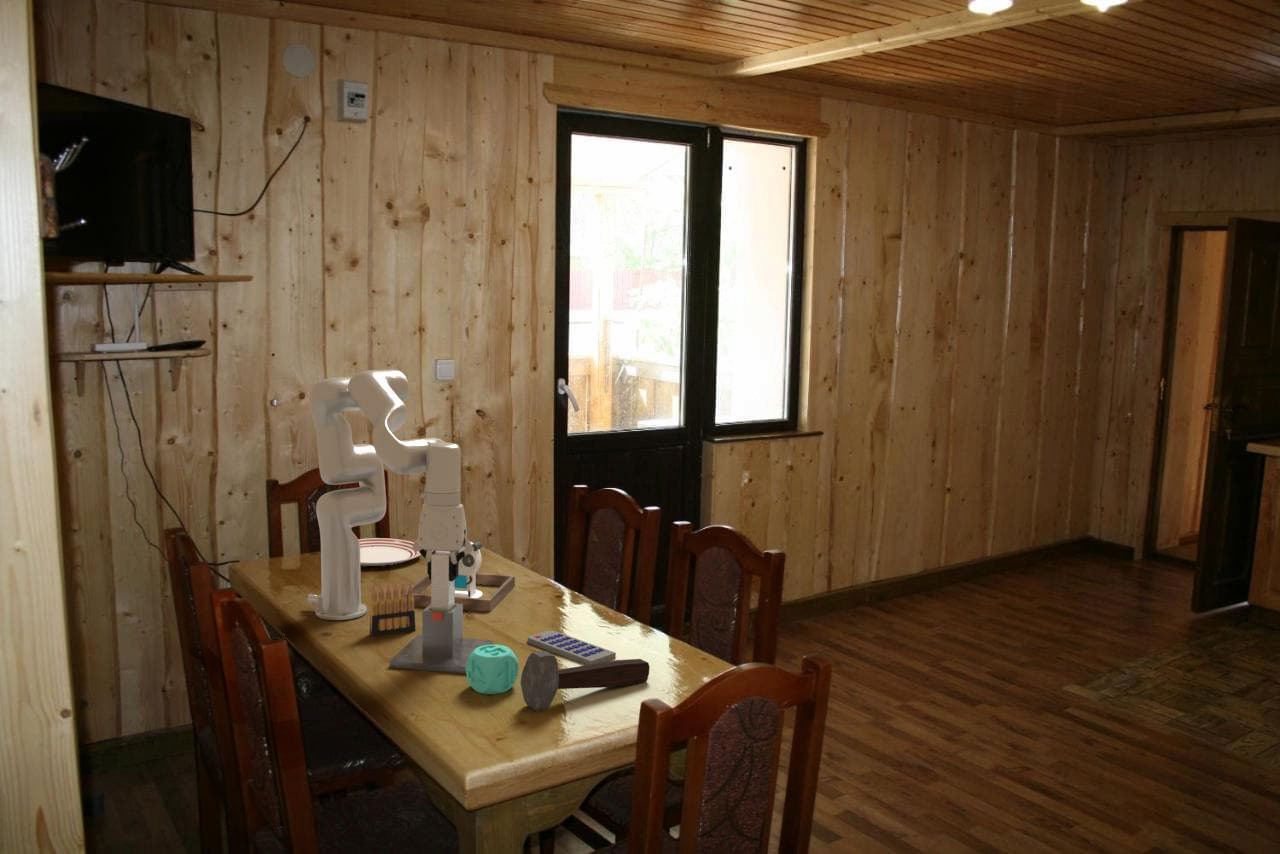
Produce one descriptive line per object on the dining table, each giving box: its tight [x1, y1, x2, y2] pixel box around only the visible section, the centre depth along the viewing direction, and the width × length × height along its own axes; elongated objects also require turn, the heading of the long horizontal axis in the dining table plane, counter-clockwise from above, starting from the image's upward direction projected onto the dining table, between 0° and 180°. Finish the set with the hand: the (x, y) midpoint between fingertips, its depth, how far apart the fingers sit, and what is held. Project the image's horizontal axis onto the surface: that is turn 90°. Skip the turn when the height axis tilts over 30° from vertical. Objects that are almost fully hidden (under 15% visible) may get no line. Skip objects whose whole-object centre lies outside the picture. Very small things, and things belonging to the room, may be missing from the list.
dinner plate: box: [358, 537, 422, 567], centre depth 319 cm, size 28×27×3 cm
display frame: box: [406, 572, 516, 612], centre depth 284 cm, size 24×24×3 cm
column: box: [430, 551, 455, 612], centre depth 236 cm, size 4×4×16 cm
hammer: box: [520, 650, 650, 712], centre depth 218 cm, size 5×11×30 cm
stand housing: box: [389, 603, 494, 675], centre depth 237 cm, size 18×18×12 cm
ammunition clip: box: [369, 582, 416, 637], centre depth 252 cm, size 11×2×12 cm, turn 118°
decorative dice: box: [465, 644, 520, 695], centre depth 220 cm, size 8×8×8 cm
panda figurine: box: [454, 541, 483, 599], centre depth 284 cm, size 12×11×15 cm
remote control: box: [527, 630, 617, 665], centre depth 245 cm, size 8×23×2 cm, turn 47°
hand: (443, 578), depth 236 cm, fingers closed on column, 4 cm apart
